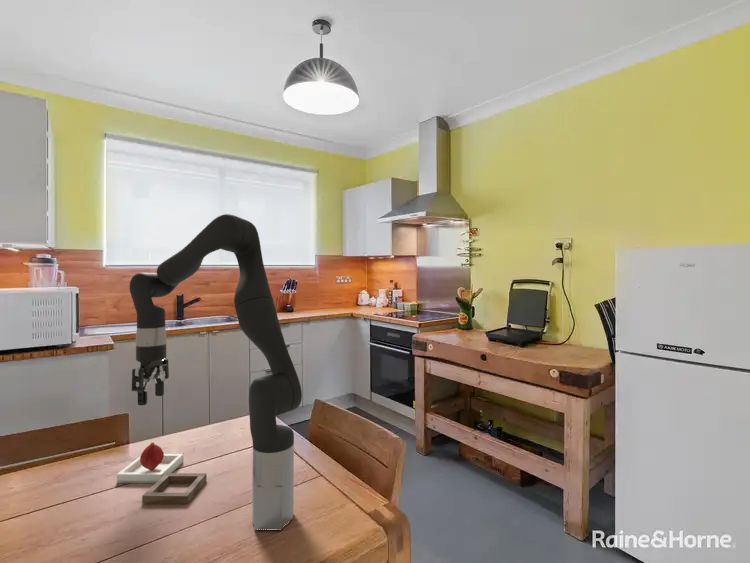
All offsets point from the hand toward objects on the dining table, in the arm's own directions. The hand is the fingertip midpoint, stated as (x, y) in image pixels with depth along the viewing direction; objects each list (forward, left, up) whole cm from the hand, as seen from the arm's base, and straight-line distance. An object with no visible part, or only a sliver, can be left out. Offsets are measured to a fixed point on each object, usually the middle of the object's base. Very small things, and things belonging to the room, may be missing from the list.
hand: (151, 400), depth 111 cm
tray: (0, 0, -21) cm, 21 cm away
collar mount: (-10, -12, -21) cm, 26 cm away
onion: (0, 0, -20) cm, 20 cm away
